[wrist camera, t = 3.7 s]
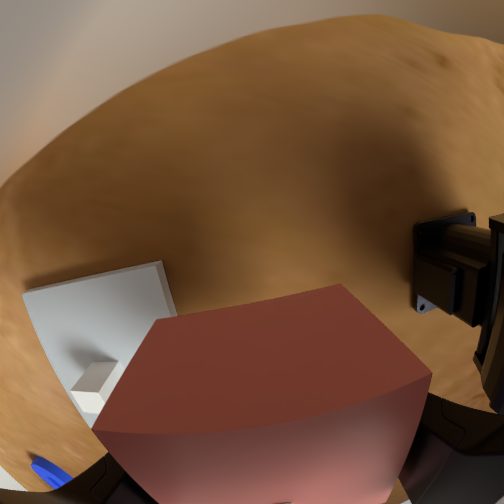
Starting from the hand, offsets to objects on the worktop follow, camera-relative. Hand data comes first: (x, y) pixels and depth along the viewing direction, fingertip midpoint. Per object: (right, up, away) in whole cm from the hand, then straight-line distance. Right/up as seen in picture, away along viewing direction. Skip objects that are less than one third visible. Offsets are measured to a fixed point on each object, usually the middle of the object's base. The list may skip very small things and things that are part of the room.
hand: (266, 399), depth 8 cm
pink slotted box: (0, 0, +1) cm, 1 cm away
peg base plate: (-10, -3, +9) cm, 14 cm away
